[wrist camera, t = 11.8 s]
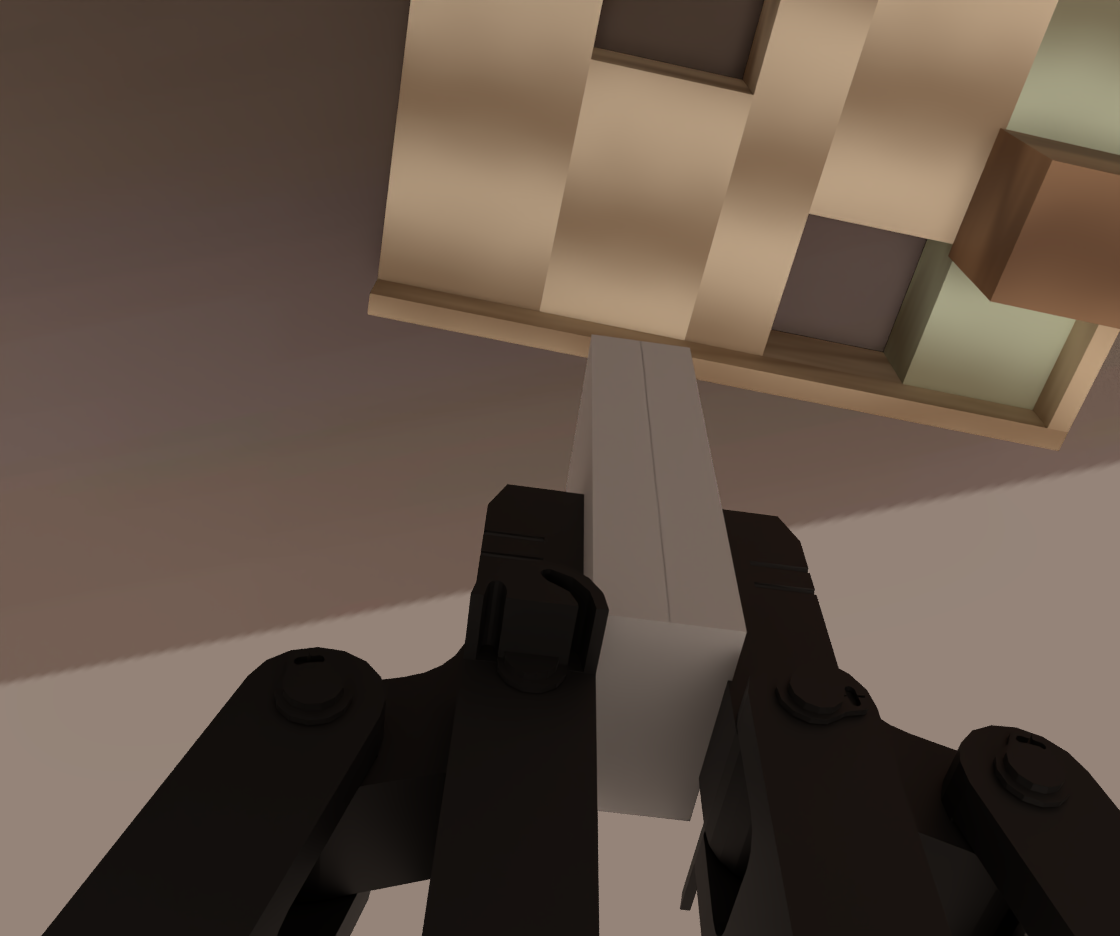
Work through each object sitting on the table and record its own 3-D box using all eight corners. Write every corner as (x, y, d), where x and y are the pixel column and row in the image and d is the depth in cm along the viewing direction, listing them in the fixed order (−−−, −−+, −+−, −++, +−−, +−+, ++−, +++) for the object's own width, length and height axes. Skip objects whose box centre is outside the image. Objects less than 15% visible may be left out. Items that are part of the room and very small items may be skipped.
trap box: (447, -203, 33) (428, -214, 29) (1213, -23, 35) (1292, -9, 31) (389, 272, 41) (367, 314, 37) (1015, 398, 43) (1058, 450, 39)
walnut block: (1000, 127, 34) (1052, 160, 31) (1126, 156, 35) (1194, 192, 31) (947, 255, 37) (990, 301, 33) (1067, 282, 37) (1123, 330, 33)
